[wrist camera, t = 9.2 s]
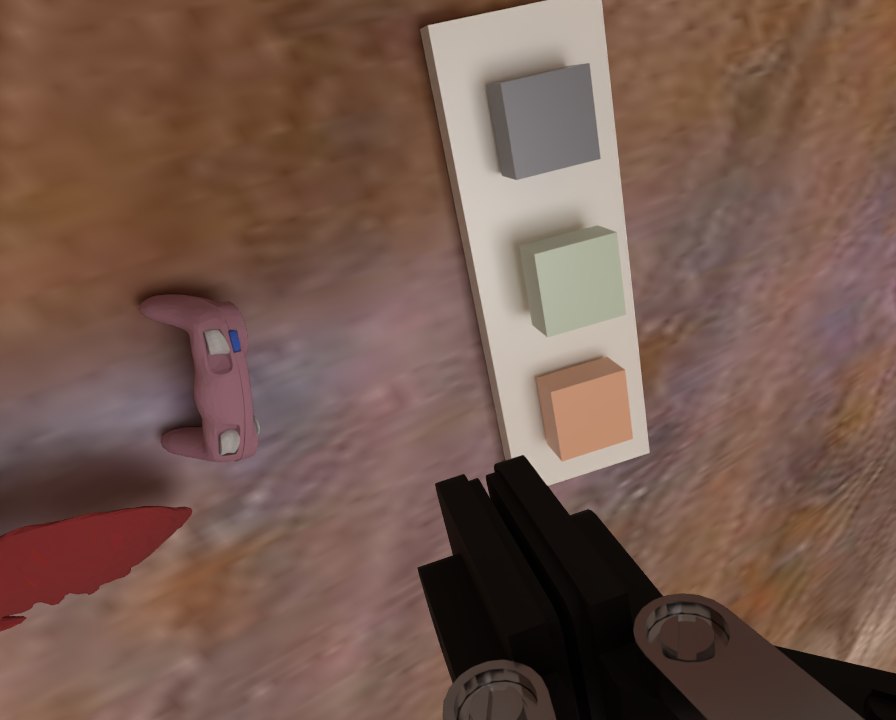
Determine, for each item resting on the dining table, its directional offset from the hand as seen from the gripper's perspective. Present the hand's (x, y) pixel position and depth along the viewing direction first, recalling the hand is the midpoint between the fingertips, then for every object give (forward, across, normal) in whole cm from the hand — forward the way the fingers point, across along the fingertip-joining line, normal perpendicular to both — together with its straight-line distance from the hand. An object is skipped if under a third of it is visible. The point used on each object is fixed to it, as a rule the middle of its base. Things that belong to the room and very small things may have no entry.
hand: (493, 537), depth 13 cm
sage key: (+29, -13, +5) cm, 32 cm away
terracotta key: (+30, -13, +14) cm, 35 cm away
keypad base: (+32, -13, +5) cm, 35 cm away
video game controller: (+32, +9, +6) cm, 34 cm away
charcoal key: (+29, -13, -4) cm, 32 cm away
